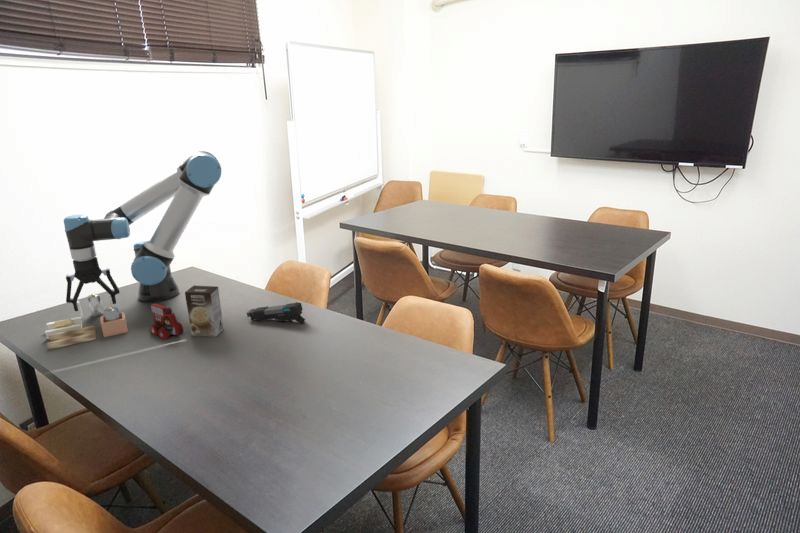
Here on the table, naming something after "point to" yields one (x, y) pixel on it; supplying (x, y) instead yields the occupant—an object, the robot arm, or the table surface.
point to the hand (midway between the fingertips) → (97, 315)
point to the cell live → (95, 304)
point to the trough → (71, 337)
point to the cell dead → (111, 314)
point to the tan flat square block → (63, 323)
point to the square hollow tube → (114, 325)
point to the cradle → (75, 325)
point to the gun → (278, 313)
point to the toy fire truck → (164, 322)
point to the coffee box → (204, 310)
